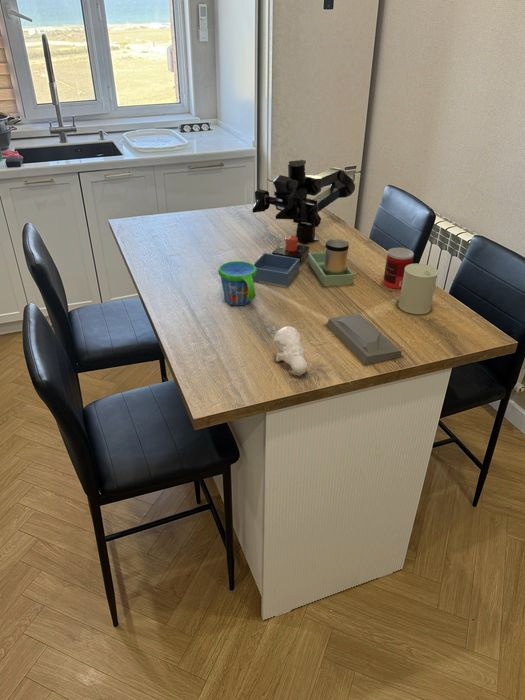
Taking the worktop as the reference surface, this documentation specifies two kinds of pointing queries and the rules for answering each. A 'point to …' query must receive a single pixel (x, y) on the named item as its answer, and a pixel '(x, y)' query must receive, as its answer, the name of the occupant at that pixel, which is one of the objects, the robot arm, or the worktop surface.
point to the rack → (318, 266)
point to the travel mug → (335, 257)
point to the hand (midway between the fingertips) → (264, 214)
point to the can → (417, 288)
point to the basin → (276, 269)
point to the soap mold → (363, 339)
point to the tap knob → (291, 243)
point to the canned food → (396, 267)
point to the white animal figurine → (291, 349)
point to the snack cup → (238, 282)
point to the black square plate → (299, 253)
